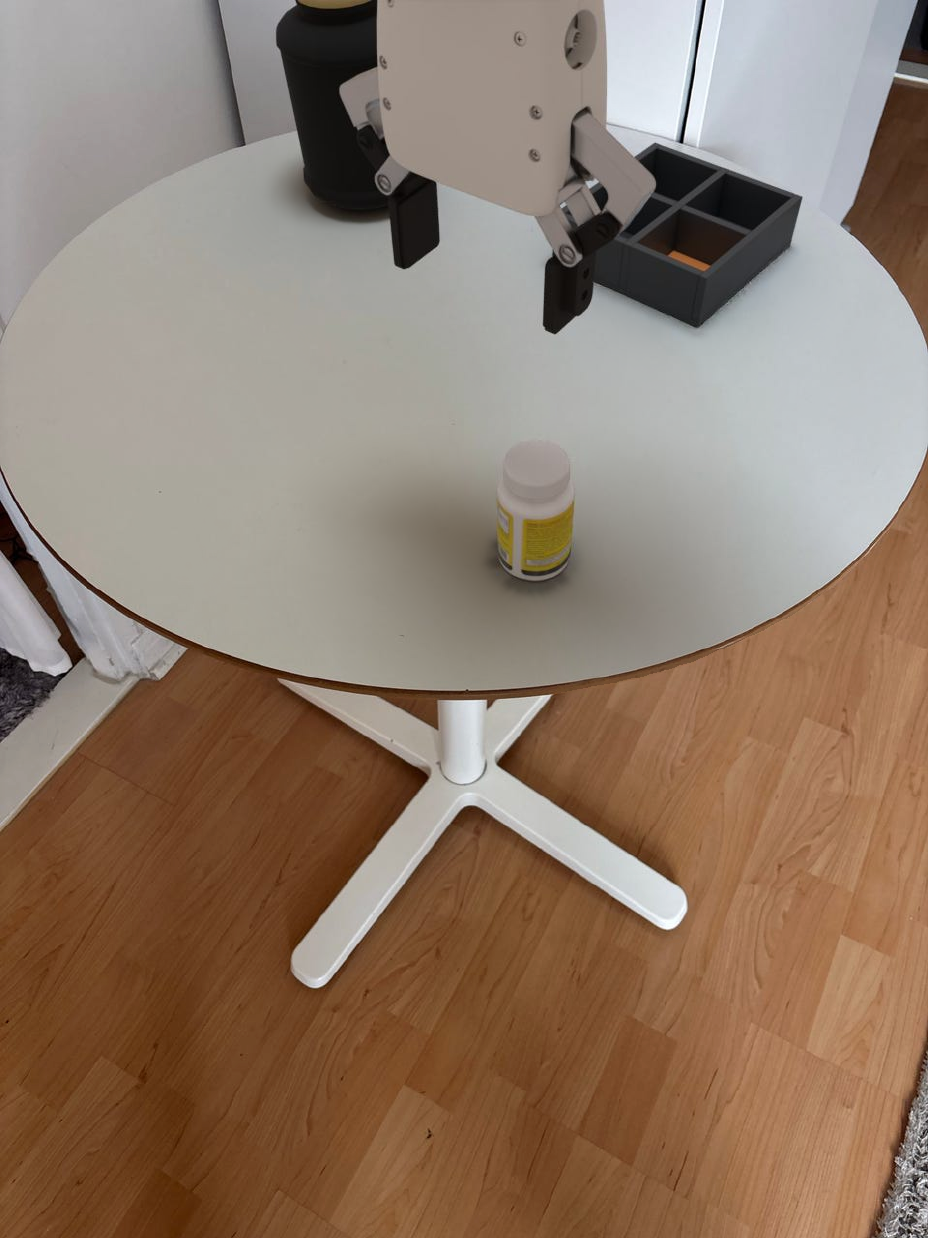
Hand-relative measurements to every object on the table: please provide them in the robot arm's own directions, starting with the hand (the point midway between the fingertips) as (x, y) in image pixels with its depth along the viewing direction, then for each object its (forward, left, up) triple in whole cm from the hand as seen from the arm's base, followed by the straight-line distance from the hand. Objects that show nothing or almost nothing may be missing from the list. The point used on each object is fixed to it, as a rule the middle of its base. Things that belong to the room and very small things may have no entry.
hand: (488, 286), depth 52 cm
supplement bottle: (-3, +2, -19) cm, 19 cm away
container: (+20, -40, -19) cm, 48 cm away
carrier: (-9, -34, -18) cm, 40 cm away
